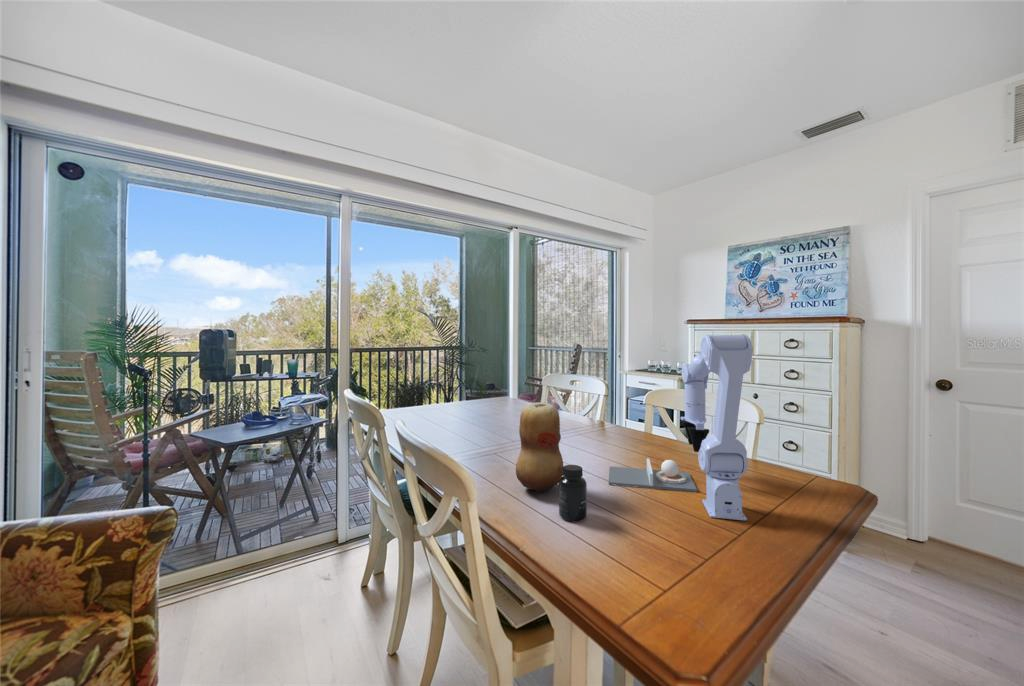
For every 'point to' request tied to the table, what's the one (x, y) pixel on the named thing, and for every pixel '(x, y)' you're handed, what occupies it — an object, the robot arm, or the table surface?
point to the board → (651, 478)
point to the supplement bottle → (572, 494)
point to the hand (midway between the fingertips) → (695, 447)
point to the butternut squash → (539, 447)
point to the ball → (670, 468)
